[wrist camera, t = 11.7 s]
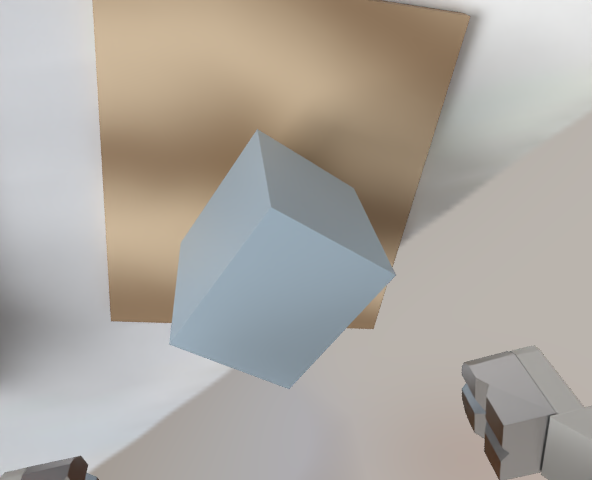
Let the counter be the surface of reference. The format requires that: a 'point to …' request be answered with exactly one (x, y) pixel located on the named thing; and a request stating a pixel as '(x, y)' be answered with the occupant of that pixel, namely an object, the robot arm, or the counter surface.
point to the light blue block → (275, 266)
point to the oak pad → (257, 115)
